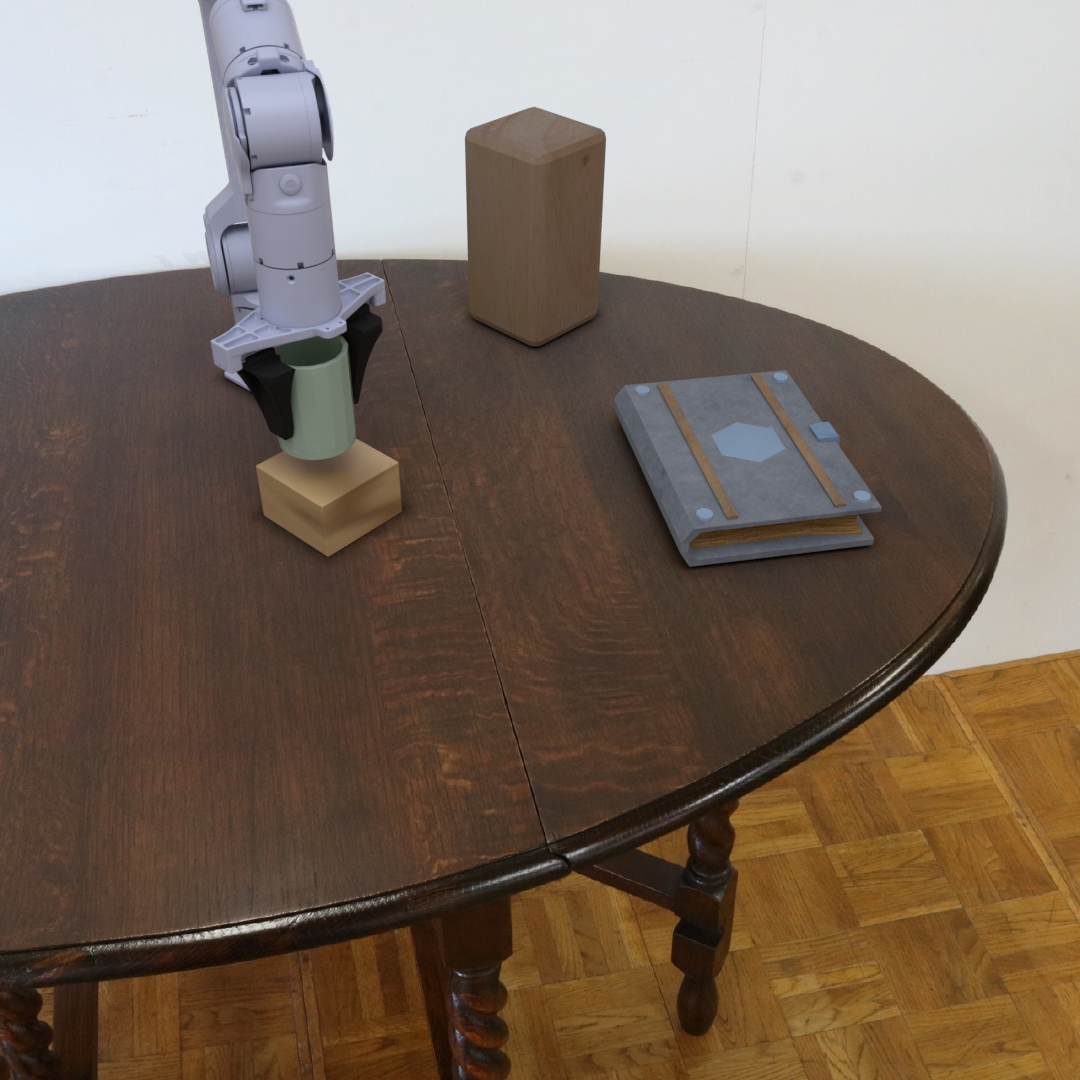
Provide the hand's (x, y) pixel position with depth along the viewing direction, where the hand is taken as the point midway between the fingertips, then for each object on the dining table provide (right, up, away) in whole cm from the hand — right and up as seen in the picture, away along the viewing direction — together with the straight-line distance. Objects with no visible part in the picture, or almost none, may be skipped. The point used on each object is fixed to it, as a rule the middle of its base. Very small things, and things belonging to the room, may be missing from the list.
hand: (314, 416), depth 91 cm
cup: (0, -2, +1) cm, 2 cm away
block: (0, -7, +6) cm, 9 cm away
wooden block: (+17, +13, +32) cm, 39 cm away
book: (+34, -5, +10) cm, 36 cm away
